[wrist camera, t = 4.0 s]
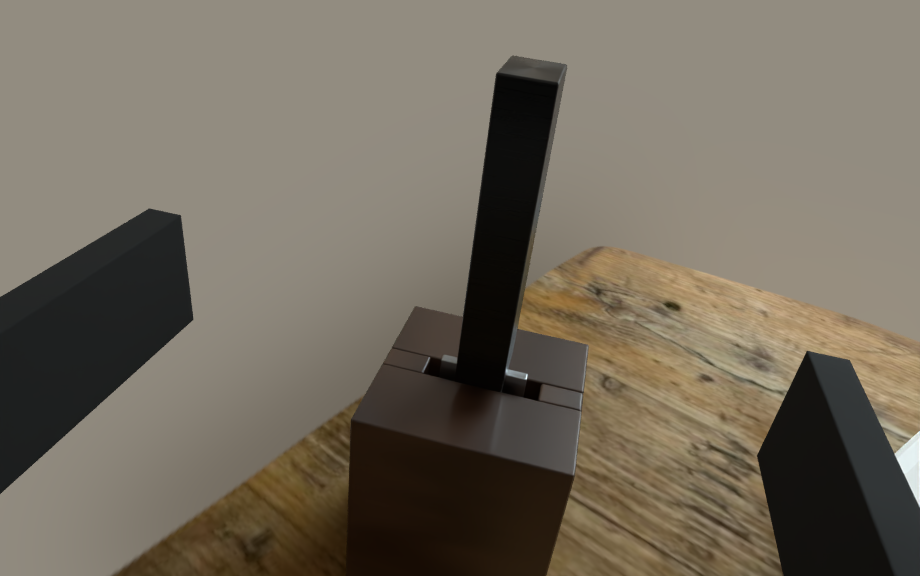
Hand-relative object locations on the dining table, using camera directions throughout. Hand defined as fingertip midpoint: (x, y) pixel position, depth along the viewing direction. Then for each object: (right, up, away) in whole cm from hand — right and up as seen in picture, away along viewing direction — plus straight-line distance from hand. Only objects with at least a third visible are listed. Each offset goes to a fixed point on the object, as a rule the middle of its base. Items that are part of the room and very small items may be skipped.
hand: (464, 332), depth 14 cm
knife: (0, -10, +14) cm, 17 cm away
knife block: (0, -10, +14) cm, 17 cm away
